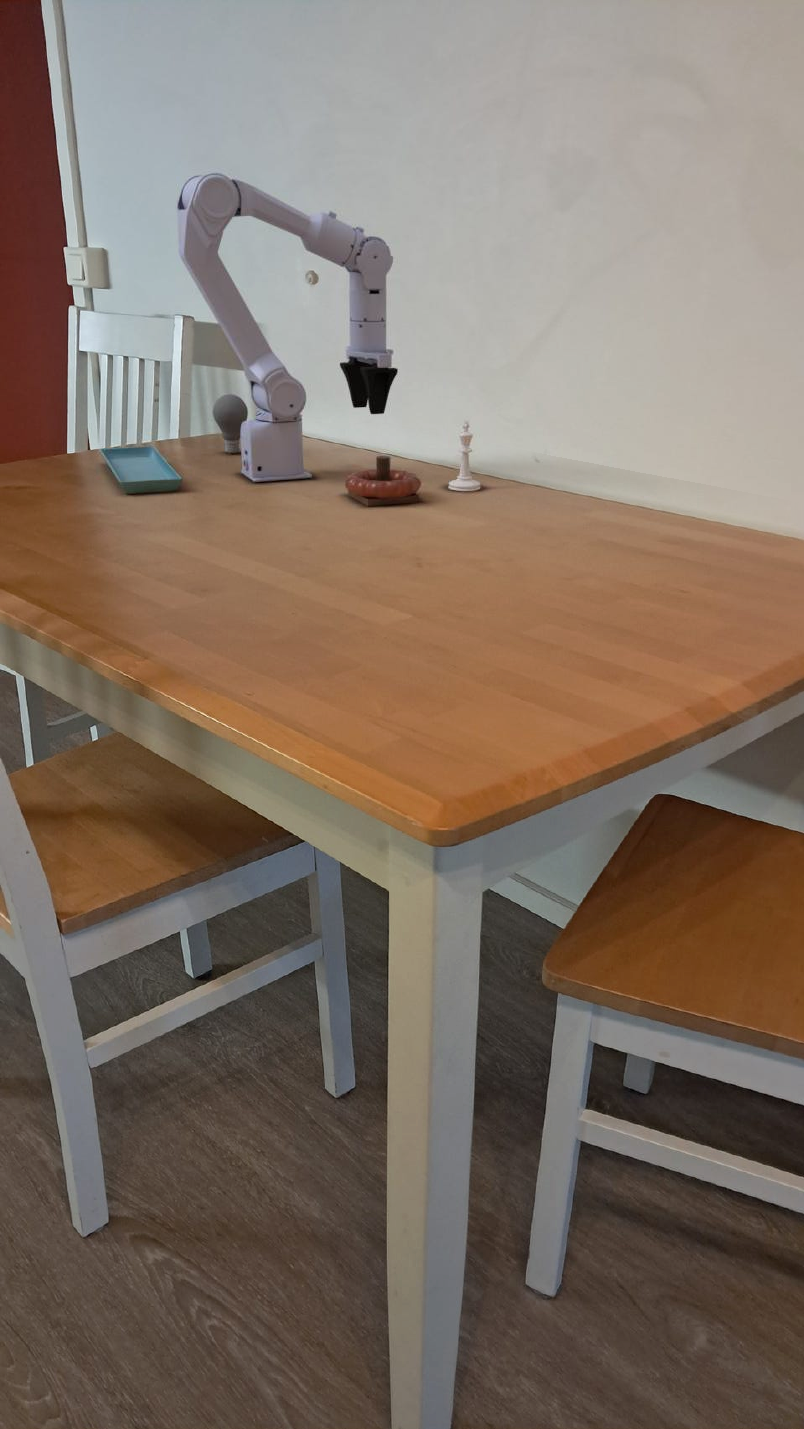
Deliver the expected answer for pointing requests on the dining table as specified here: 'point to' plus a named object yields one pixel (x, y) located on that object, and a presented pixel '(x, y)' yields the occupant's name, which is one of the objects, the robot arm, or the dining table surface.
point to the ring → (383, 484)
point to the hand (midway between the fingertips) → (368, 410)
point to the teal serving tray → (141, 469)
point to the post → (384, 475)
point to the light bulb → (230, 420)
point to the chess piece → (465, 465)
